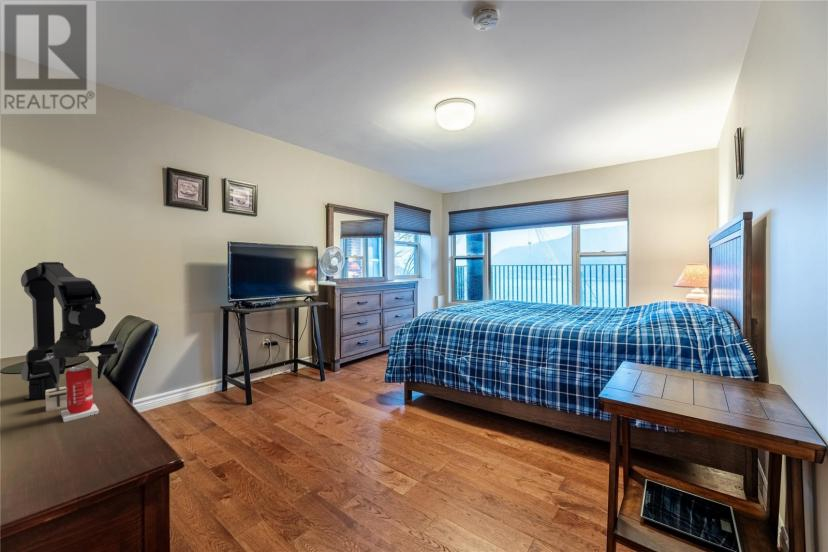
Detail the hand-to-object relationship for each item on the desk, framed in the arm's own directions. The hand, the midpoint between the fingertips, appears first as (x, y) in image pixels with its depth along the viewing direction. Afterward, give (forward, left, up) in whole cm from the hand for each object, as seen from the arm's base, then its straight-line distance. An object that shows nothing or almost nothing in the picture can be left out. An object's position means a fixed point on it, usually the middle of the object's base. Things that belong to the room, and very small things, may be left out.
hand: (78, 380), depth 97 cm
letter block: (-7, -10, -10) cm, 16 cm away
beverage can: (0, 0, -9) cm, 9 cm away
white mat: (0, 0, -10) cm, 10 cm away
